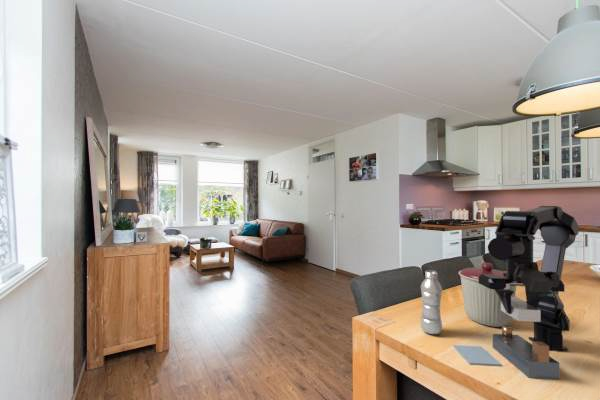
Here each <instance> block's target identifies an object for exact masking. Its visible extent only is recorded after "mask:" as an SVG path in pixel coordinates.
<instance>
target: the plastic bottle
mask: <svg viewBox="0 0 600 400" xmlns="http://www.w3.org/2000/svg"><path fill="white" fill-rule="evenodd" d="M424 273H425V275H424V277H425V279H424V280H422V282H421V284H420V290H421V302H422V310H421V311H422V312H421V316H420V317H421V318H420V327H421V329H422V332H423V331H424V333H427V334H428V335H440V333H442V329H443V323H442V318H441V301H442V294H443V288H442V285H441V283H440V282H439V280H438V278H439V277H438V272H437V271H436V270H430V269H429V270H427V269H426V270H425V271H424Z"/></svg>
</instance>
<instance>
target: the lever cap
mask: <svg viewBox="0 0 600 400" xmlns="http://www.w3.org/2000/svg"><path fill="white" fill-rule="evenodd" d="M526 301H527V300H523V299H521V298H519V297H518V296H515V297H511V314H508V313H507V312H506V310H505V308H504V306H503V304H502V302H501V311H503V312H504V313H506V314H508V315H509V316H511V317H512V318H513V319H514V320H516V321H518V322H533V323H534V322H541V310H539V309H537V308H535V307H533V306H531V305H529V304H527V303H526Z"/></svg>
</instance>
